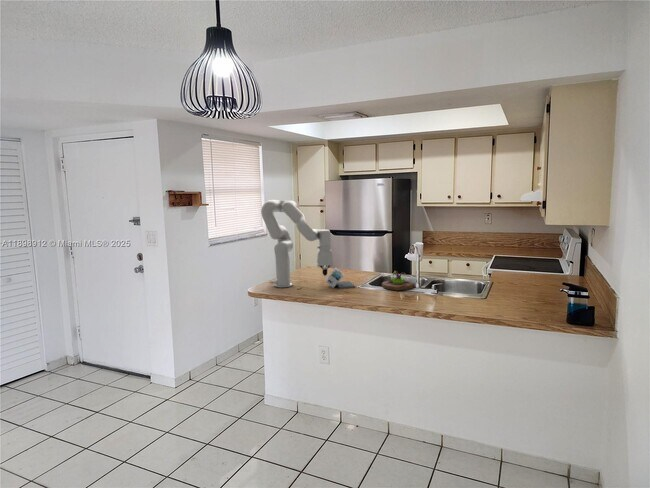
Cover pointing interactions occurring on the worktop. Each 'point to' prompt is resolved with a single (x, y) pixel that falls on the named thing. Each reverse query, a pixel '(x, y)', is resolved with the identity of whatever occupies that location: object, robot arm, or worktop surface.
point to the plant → (398, 283)
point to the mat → (345, 285)
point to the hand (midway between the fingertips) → (324, 275)
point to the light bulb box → (334, 277)
